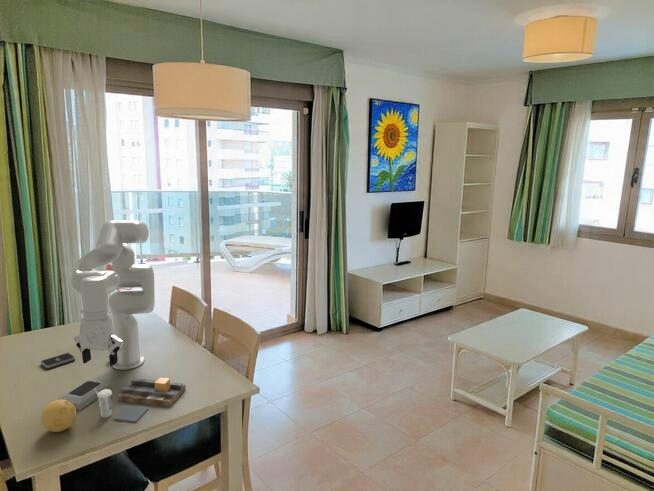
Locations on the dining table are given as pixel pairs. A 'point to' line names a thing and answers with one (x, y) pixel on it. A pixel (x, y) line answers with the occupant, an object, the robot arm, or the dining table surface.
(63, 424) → the stress ball
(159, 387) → the switch tab
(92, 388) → the grey electronic device
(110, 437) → the dining table surface
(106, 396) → the milkshake
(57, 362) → the external hard drive
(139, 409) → the mat
